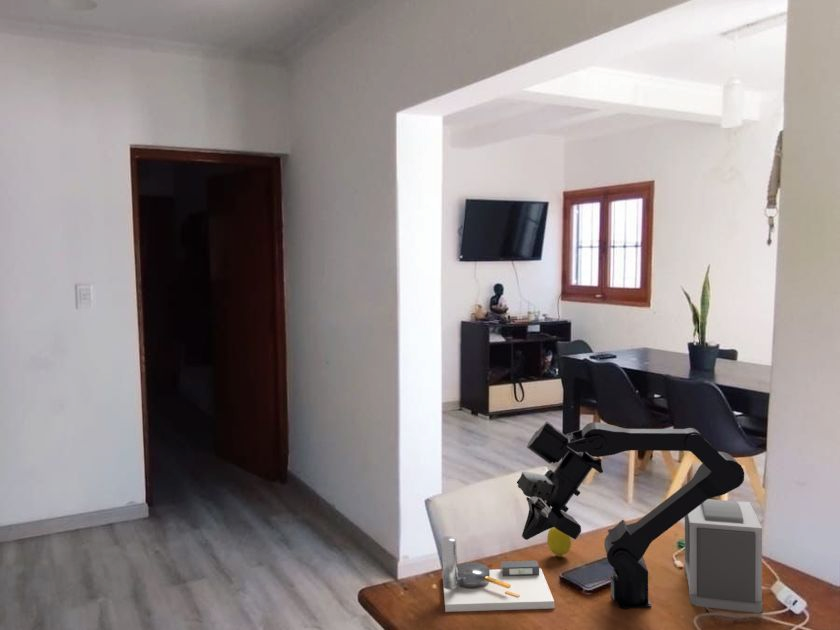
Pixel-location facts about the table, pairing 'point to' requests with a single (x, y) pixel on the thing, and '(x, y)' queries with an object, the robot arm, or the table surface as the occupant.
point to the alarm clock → (724, 556)
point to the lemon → (558, 542)
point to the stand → (504, 590)
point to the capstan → (463, 569)
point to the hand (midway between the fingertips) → (524, 538)
